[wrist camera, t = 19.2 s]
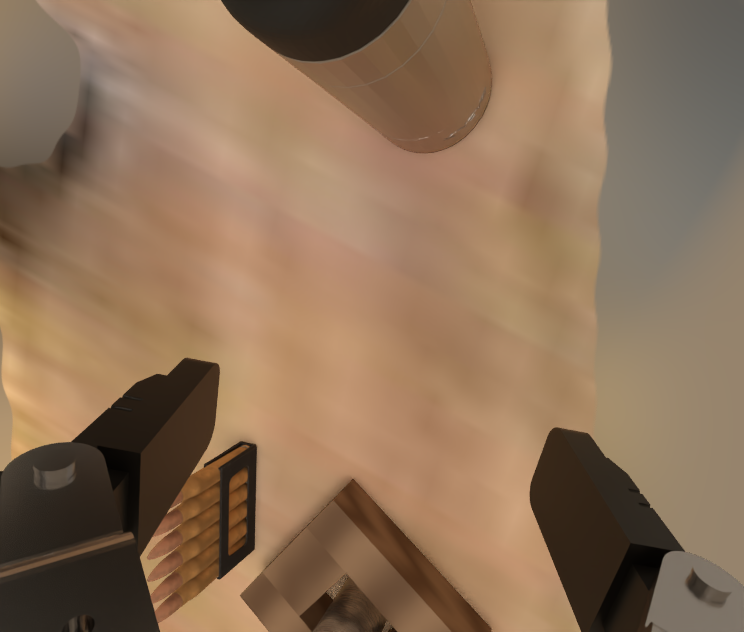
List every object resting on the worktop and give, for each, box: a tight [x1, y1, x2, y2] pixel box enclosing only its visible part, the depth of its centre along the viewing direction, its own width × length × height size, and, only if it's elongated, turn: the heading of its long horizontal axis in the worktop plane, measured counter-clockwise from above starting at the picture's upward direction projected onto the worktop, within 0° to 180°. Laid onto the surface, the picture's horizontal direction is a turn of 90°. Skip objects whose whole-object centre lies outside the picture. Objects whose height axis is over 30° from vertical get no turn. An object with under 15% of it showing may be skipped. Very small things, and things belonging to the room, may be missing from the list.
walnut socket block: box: [240, 480, 491, 632], centre depth 40 cm, size 16×14×4 cm
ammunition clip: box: [147, 442, 257, 623], centre depth 40 cm, size 11×2×12 cm, turn 177°
